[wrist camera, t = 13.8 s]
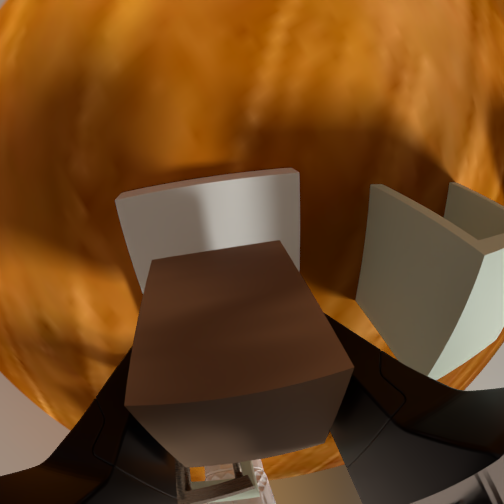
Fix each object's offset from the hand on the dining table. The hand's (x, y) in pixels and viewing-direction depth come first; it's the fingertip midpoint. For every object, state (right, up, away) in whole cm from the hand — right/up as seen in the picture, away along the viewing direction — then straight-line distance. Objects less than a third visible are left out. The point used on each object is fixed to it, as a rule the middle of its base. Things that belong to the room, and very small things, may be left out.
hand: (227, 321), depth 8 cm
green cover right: (+10, +3, +6) cm, 12 cm away
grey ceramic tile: (-1, +2, +4) cm, 4 cm away
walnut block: (0, 0, +1) cm, 1 cm away
